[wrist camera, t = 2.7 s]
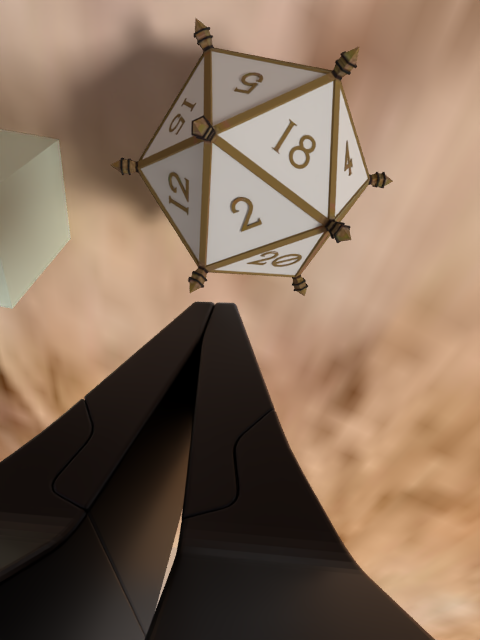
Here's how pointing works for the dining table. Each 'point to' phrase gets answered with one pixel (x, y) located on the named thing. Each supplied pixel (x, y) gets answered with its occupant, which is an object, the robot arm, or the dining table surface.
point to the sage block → (29, 211)
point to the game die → (256, 163)
